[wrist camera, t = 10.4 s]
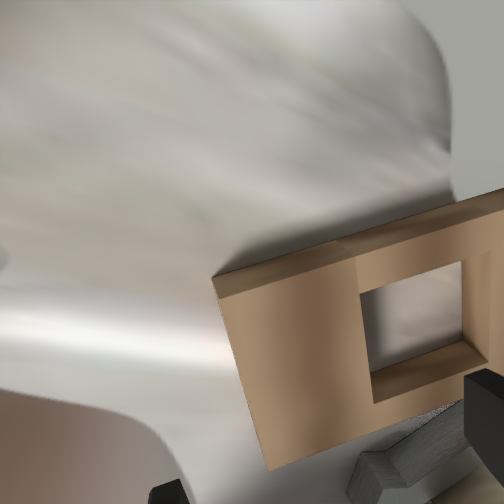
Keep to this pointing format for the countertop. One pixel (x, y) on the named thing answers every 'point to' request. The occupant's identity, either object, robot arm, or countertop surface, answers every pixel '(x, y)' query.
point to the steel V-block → (416, 464)
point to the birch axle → (473, 489)
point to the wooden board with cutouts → (359, 328)
